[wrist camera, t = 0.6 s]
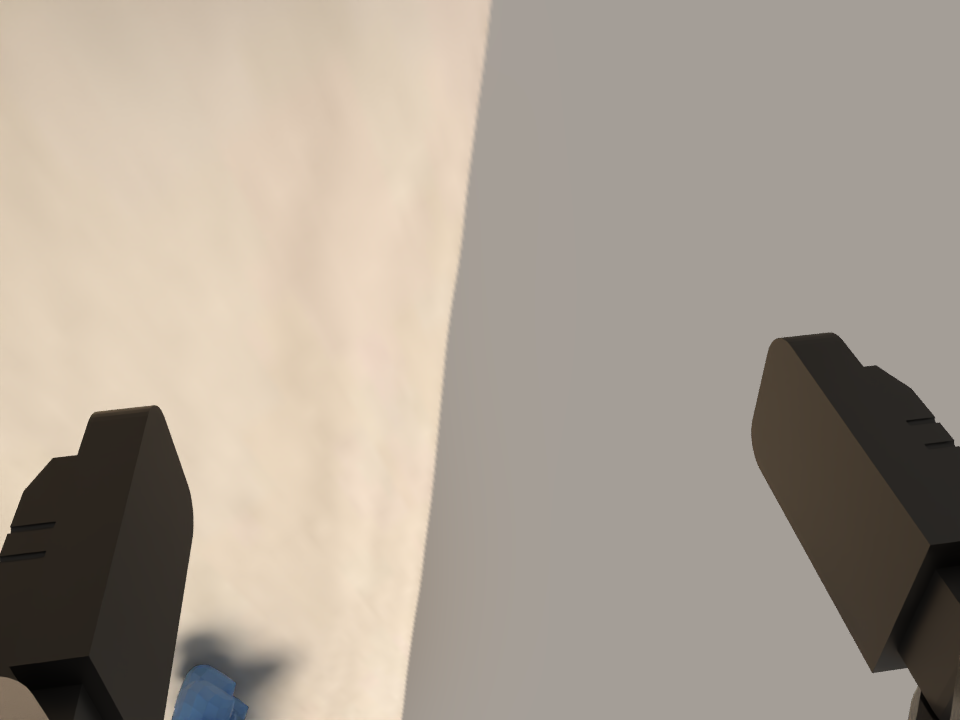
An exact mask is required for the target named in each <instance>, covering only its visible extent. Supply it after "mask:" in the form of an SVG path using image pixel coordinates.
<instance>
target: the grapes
mask: <svg viewBox="0 0 960 720" xmlns="http://www.w3.org/2000/svg"><path fill="white" fill-rule="evenodd" d="M235 686H236V682H234V681H233V680H232V679H230V678H229V677H228V676H227V675H225V674H223V673H222V672H220V671H218V670H217V669H215V668H213V667H211V666H210V665H198V666H194V667H193V668H192V669H191V670H190V671H189V672H188V673H187V675H186V677H185V679H184V681H183V684H182V686H181V689H180V691H179V694H178V697H177V700H176V704H175V707H174V708H175V710H174V713H173V716H172V720H245V718H246V714H247V710H248V706H247V705H246V704H244V703H243V702H242V701H241V700H239V699H238V698H236V697H234V696H233V694H234V690H235Z"/></svg>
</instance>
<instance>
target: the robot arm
mask: <svg viewBox="0 0 960 720" xmlns="http://www.w3.org/2000/svg"><path fill="white" fill-rule="evenodd" d="M751 436H752V446H753V450H754V455H755V458H756V461H757V464H758V466H759V468H760V470H761V472H762V474H763V476H764V477H765V479H766V481H767V483H768V485H769V486H770V488H771V490H772V492H773V494H774V496H775V497H776V499H777V501H778V503H779V505H780V506H781V508H782V510H783V512H784V514H785V516H786V517H787V519H788V521H789V523H790V524H791V526H792V528H793V530H794V532H795V534H796V535H797V537H798V539H799V541H800V543H801V544H802V546H803V548H804V550H805V552H806V554H807V555H808V557H809V559H810V561H811V563H812V564H813V566H814V568H815V570H816V572H817V574H818V575H819V577H820V579H821V581H822V583H823V584H824V586H825V588H826V590H827V592H828V594H829V595H830V597H831V599H832V601H833V602H834V604H835V606H836V608H837V610H838V611H839V613H840V615H841V617H842V619H843V621H844V623H845V624H846V626H847V628H848V630H849V632H850V633H851V635H852V637H853V639H854V641H855V642H856V644H857V646H858V648H859V650H860V652H861V653H862V655H863V657H864V659H865V660H866V662H867V664H868V666H869V668H870V670H871V671H872V673H875V672H882V671H888V670H895V669H903V668H908V669H909V671H910V673H911V674H912V676H913V678H914V679H915V681H916V683H917V685H918V687H917V689H916V691H915V693H914V694H913V698H912V701H911V706H910V712H909V717H908V720H960V447H959V446H958V447H955V445H954V440H953V439H952V437H951V436H950V435H949V433H948V432H947V431H946V430H945V429H944V427H943V426H942V425H941V424H940V423H936V422H935V417H934V415H933V414H932V413H931V412H930V411H929V409H928V408H927V407H926V406H925V404H924V403H923V402H922V401H921V400H920V398H919V397H918V396H917V395H916V394H915V393H914V391H913V390H912V389H911V388H909V387H908V386H907V385H905V384H903V383H902V382H900V381H899V380H897V379H896V378H894V377H893V376H891V375H889V374H888V373H887V372H885V371H884V370H882V369H880V368H879V367H878V366H867V367H863V366H862V364H861V363H860V362H859V361H858V359H857V358H856V357H855V356H854V354H853V353H852V352H851V350H850V349H849V348H848V347H847V345H846V344H845V343H844V342H843V340H842V339H841V338H840V337H839V336H837V335H836V334H834V333H820V334H811V335H802V336H794V337H784V338H778V339H775V340H774V341H773V342H772V343H771V345H770V347H769V350H768V354H767V358H766V363H765V367H764V371H763V376H762V380H761V385H760V389H759V394H758V398H757V403H756V407H755V411H754V416H753V420H752V428H751ZM10 527H11V534H7V537H6V540H5V542H4V545H3V547H2V550H1V553H0V720H164V715H165V708H166V702H167V696H168V689H169V683H170V677H171V670H172V664H173V658H174V651H175V645H176V639H177V632H178V626H179V620H180V613H181V607H182V601H183V594H184V588H185V582H186V575H187V569H188V563H189V557H190V550H191V544H192V537H193V507H192V500H191V495H190V490H189V487H188V484H187V481H186V478H185V475H184V472H183V469H182V466H181V464H180V461H179V458H178V455H177V452H176V449H175V446H174V443H173V440H172V438H171V435H170V432H169V429H168V426H167V423H166V420H165V417H164V415H163V413H162V411H161V409H160V408H159V407H158V406H156V405H153V406H144V407H135V408H126V409H117V410H108V411H99V412H94V413H93V414H92V415H91V417H90V419H89V421H88V424H87V427H86V430H85V433H84V436H83V439H82V442H81V446H80V449H79V452H78V455H75V456H66V457H57V458H53V459H52V460H51V461H50V462H49V463H48V464H47V465H46V467H45V468H44V469H43V470H42V471H41V472H40V473H39V474H38V476H37V477H36V478H35V479H34V480H33V481H32V482H31V483H30V485H29V486H28V487H27V488H26V489H25V490H24V492H23V494H22V497H21V500H20V502H19V505H18V508H17V510H16V513H15V516H14V518H13V521H12V524H11V526H10Z"/></svg>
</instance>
